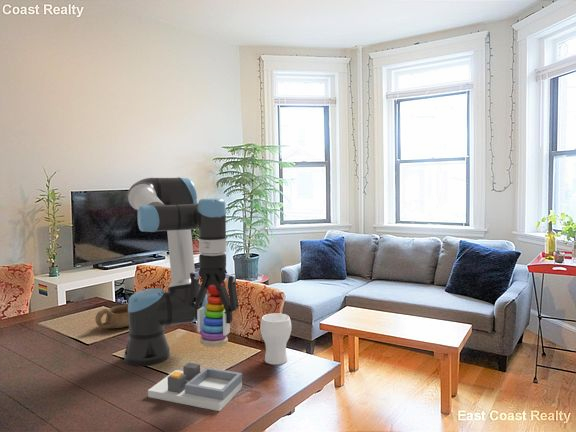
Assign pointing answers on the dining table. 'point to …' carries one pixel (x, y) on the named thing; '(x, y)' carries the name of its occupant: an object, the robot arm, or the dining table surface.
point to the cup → (275, 336)
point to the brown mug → (114, 317)
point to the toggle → (191, 370)
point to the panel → (214, 404)
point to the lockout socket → (213, 393)
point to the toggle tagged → (176, 382)
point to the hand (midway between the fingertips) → (213, 332)
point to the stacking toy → (213, 320)
